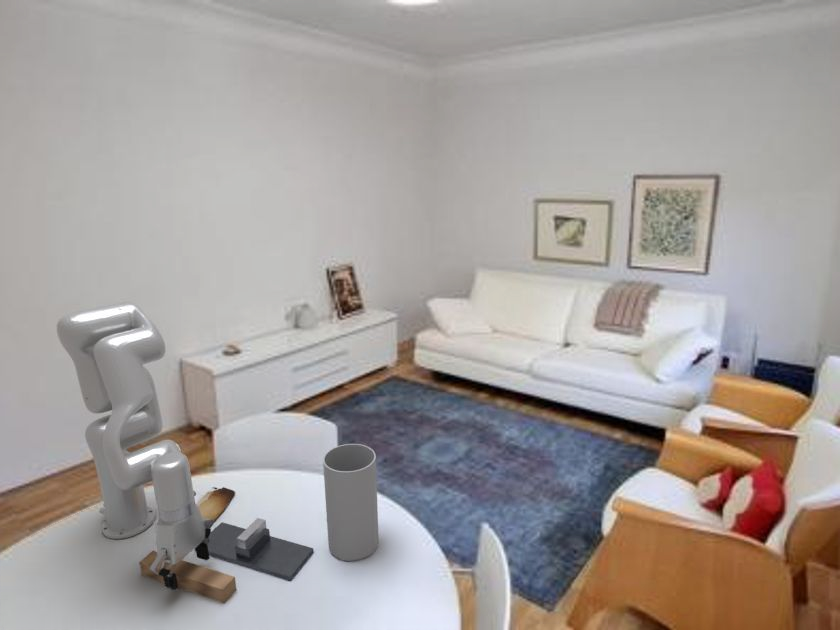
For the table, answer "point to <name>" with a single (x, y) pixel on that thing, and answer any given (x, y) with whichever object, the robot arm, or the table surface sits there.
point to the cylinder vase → (351, 501)
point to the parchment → (214, 503)
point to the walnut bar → (195, 578)
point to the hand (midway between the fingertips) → (188, 572)
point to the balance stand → (258, 549)
